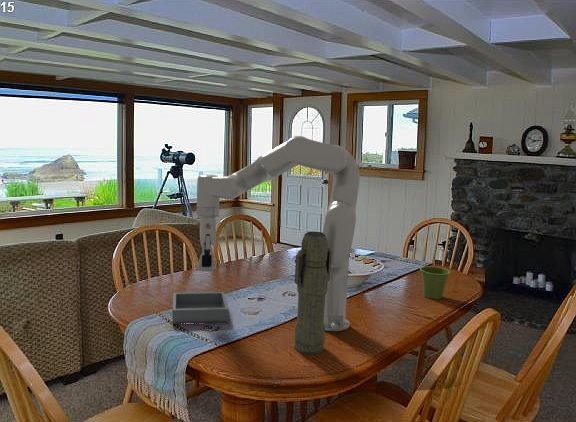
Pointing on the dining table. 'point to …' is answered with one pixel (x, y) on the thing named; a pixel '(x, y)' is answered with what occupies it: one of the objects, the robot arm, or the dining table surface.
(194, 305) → the bin
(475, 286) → the dining table surface
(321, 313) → the grey stone statue
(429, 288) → the plant pot
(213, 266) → the flask
